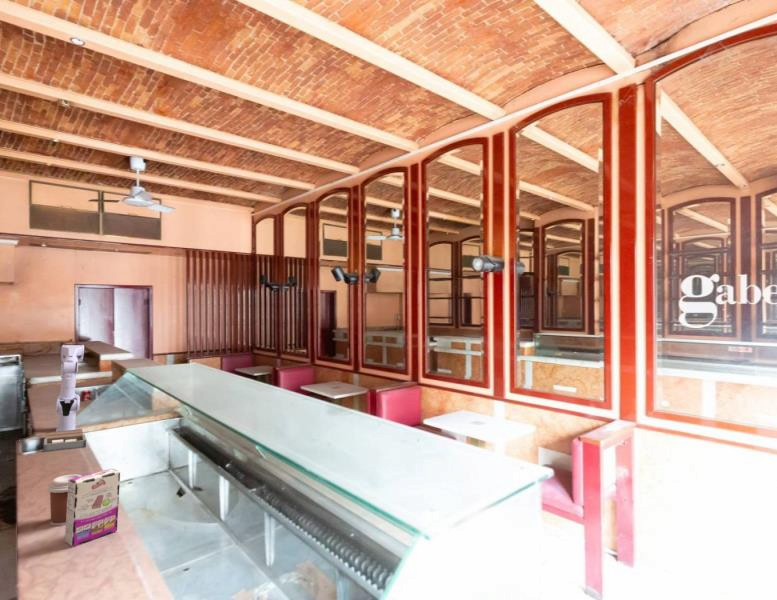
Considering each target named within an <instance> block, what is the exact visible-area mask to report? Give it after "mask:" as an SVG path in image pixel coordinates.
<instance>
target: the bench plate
mask: <svg viewBox="0 0 777 600" xmlns="http://www.w3.org/2000/svg"><path fill="white" fill-rule="evenodd" d="M82 435H84V432H83V429H82V428H81V429H76V430H67V431H56V430H55V431H45V438H47V444H49V443H52V440H61V439H63V442H65V440H70V439H76V441H78V440H82Z"/></svg>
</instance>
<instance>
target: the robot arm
mask: <svg viewBox="0 0 777 600" xmlns="http://www.w3.org/2000/svg"><path fill="white" fill-rule="evenodd" d="M84 354H85V345H84V344H77V345H76V344H62V345H61V349H60V360H61V363H62V364H61V366H60V373H61V375H60V378H61V380H60V392H59V395H58V396H56V402H55V413H57V415H58V418H57V427H56V428H55V432H56V431H67V430H77V427H76V419H77V418H76V414H77V412H79V411H80V405H81V400H80V399H81V397H80V395H79V394H77V393H76V385H77V384H76V383H77V382H76V381H77V374H78V370H79V363H82V362H83V360H84Z"/></svg>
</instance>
